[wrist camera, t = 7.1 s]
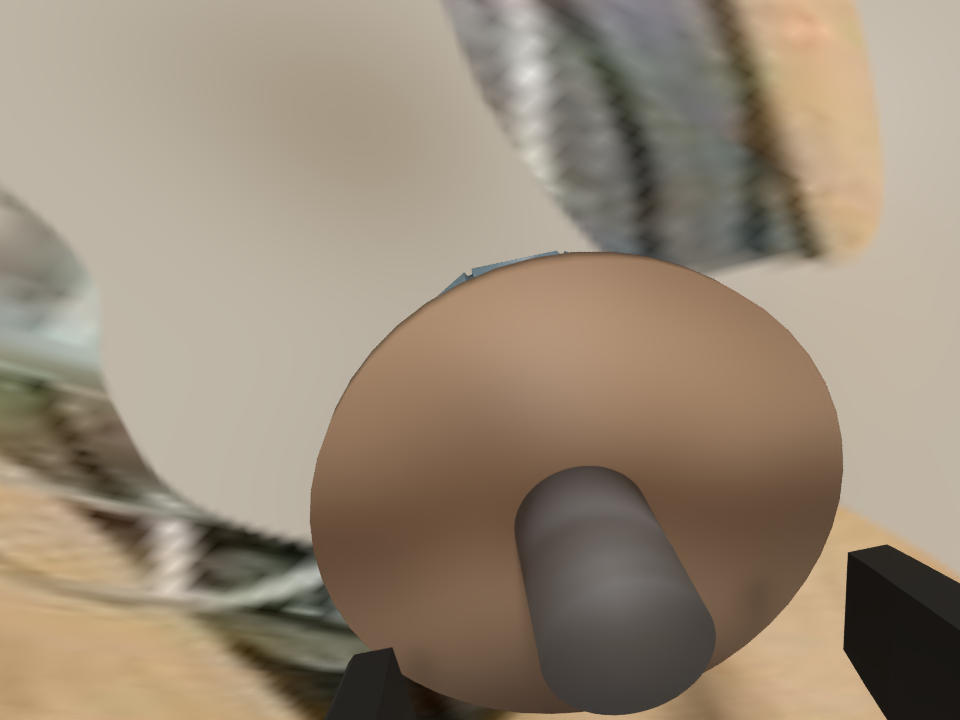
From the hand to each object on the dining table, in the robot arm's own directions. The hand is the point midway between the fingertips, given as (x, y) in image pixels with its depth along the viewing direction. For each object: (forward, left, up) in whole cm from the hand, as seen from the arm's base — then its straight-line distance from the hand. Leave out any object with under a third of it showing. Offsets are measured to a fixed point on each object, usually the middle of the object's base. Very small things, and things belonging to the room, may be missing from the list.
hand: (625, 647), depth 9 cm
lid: (0, 0, -4) cm, 4 cm away
